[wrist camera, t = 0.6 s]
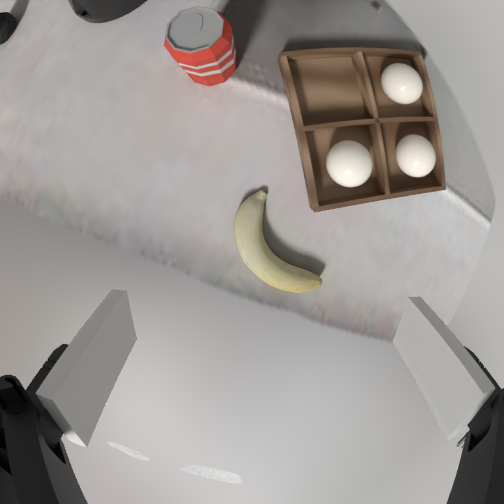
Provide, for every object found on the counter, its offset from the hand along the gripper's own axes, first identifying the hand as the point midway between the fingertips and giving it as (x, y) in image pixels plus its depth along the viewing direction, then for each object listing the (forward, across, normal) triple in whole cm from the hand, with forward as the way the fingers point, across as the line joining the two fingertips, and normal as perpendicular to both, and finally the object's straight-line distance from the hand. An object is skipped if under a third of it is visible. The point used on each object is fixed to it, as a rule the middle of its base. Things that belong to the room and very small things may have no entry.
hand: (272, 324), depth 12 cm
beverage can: (+26, -6, +18) cm, 32 cm away
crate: (+25, +14, +12) cm, 31 cm away
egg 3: (+24, +20, +9) cm, 33 cm away
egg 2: (+25, +17, +18) cm, 35 cm away
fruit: (+25, +3, -6) cm, 26 cm away
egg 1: (+24, +10, +6) cm, 27 cm away
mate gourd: (+26, -49, +37) cm, 67 cm away
